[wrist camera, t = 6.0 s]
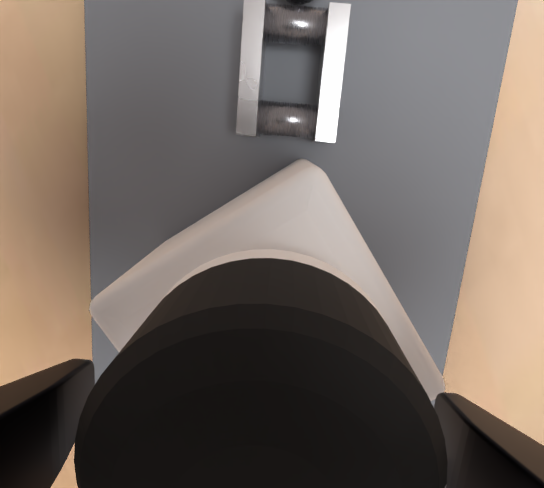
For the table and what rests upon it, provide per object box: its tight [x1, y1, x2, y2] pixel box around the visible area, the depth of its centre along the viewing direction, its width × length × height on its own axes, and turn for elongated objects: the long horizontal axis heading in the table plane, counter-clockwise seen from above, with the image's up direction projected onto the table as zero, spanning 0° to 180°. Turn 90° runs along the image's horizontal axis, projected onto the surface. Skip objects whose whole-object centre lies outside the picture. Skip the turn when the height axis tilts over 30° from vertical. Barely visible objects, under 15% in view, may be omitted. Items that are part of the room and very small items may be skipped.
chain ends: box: [236, 0, 351, 143], centre depth 17 cm, size 29×4×2 cm, turn 175°
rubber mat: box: [84, 0, 518, 407], centre depth 18 cm, size 30×16×1 cm, turn 175°
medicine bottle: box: [74, 159, 448, 488], centre depth 12 cm, size 7×7×12 cm
